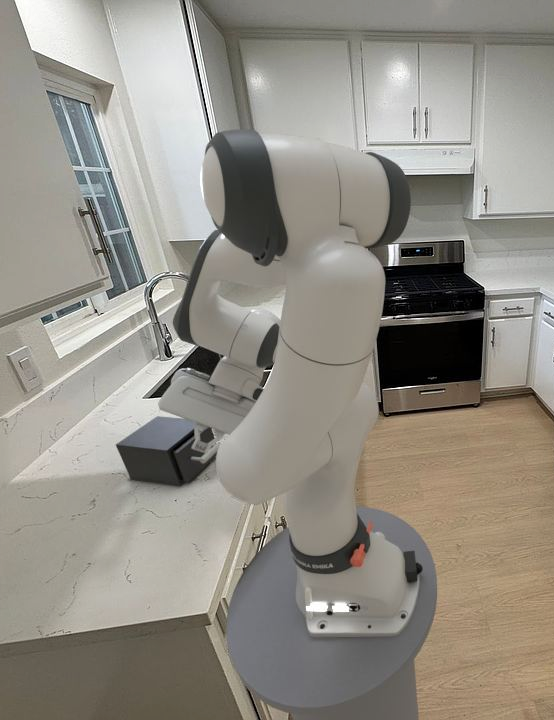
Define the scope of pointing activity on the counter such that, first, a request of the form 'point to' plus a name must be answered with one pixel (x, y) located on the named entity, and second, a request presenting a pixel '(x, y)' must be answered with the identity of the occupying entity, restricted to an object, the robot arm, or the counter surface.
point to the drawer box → (155, 450)
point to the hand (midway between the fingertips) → (199, 451)
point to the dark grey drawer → (193, 455)
